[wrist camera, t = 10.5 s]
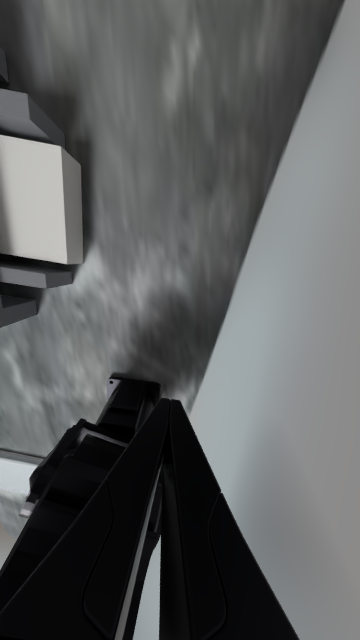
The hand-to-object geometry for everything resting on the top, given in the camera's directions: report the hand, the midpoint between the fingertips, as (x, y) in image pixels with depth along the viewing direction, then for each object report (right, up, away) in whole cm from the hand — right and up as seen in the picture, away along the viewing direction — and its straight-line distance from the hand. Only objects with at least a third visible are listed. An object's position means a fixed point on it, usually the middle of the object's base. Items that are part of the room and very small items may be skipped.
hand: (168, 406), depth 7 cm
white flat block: (-13, +14, +8) cm, 21 cm away
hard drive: (-23, -21, +21) cm, 38 cm away
